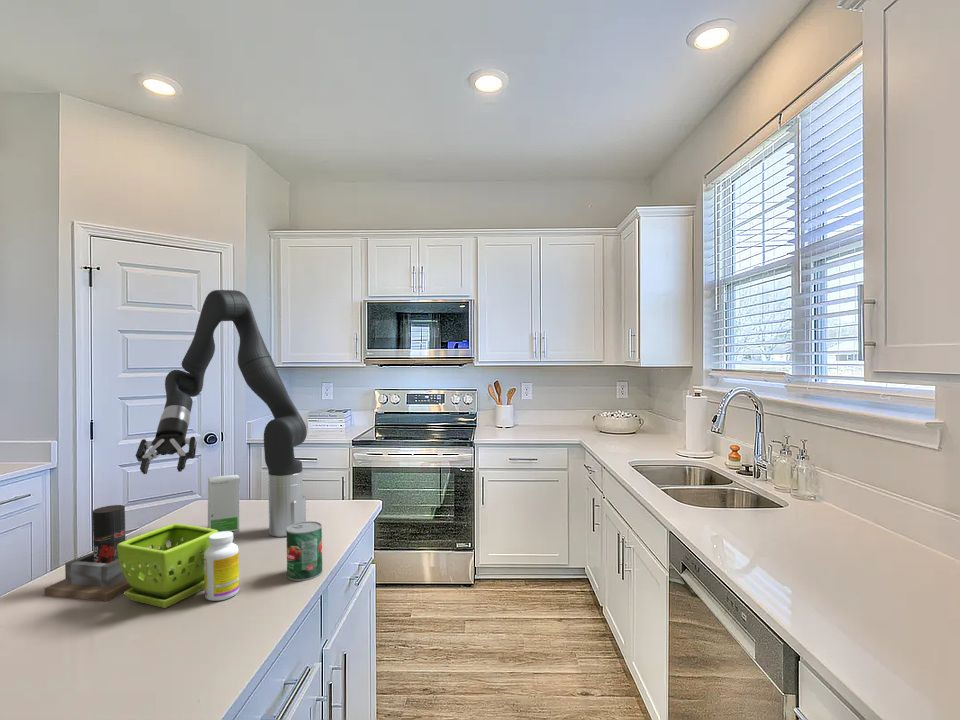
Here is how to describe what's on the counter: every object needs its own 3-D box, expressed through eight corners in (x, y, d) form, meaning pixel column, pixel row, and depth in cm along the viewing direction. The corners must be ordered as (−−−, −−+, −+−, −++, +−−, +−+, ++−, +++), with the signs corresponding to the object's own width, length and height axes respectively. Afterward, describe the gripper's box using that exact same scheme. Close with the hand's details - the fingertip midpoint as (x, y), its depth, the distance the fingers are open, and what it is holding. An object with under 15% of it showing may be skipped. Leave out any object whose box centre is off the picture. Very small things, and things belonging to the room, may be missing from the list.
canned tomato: (329, 569, 121) (329, 523, 121) (305, 583, 114) (304, 534, 114) (304, 564, 124) (303, 519, 124) (279, 577, 117) (278, 529, 117)
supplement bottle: (246, 590, 111) (245, 531, 111) (221, 604, 104) (221, 541, 104) (222, 585, 113) (221, 528, 113) (197, 599, 107) (196, 538, 107)
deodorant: (132, 569, 119) (131, 505, 118) (111, 580, 113) (109, 513, 113) (109, 568, 119) (108, 504, 119) (87, 579, 113) (85, 512, 113)
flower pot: (114, 604, 105) (113, 543, 105) (176, 577, 118) (175, 522, 118) (164, 616, 100) (163, 551, 100) (222, 585, 113) (221, 528, 113)
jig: (187, 559, 128) (186, 535, 128) (106, 601, 106) (106, 572, 106) (133, 555, 131) (133, 532, 131) (44, 594, 110) (44, 567, 109)
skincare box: (208, 536, 145) (207, 481, 145) (207, 529, 150) (206, 476, 150) (240, 530, 149) (240, 477, 149) (238, 524, 155) (238, 473, 154)
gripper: (142, 417, 146) (127, 465, 135) (198, 415, 150) (187, 461, 139) (149, 433, 151) (136, 481, 140) (203, 430, 155) (193, 476, 144)
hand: (161, 471), depth 139 cm, fingers open, 8 cm apart
